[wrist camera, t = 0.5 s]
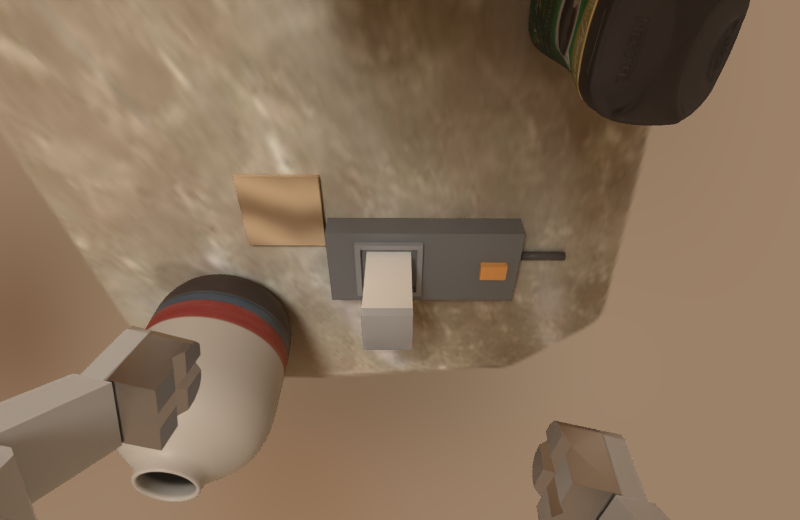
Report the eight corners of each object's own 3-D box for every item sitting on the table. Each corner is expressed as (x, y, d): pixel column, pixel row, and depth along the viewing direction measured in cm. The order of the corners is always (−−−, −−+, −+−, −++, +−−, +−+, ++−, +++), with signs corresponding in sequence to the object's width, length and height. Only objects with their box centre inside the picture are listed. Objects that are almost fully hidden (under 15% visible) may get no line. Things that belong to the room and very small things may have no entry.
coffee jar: (605, 53, 43) (708, 144, 29) (519, 50, 43) (579, 139, 29) (644, -77, 37) (799, -45, 23) (543, -82, 37) (635, -53, 23)
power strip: (327, 218, 54) (323, 237, 52) (572, 219, 55) (582, 239, 52) (334, 283, 61) (331, 304, 58) (554, 284, 61) (562, 305, 58)
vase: (313, 343, 68) (280, 517, 50) (202, 358, 70) (132, 530, 52) (270, 252, 58) (210, 429, 39) (142, 272, 60) (27, 450, 41)
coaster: (234, 174, 51) (232, 177, 50) (318, 175, 51) (317, 178, 51) (250, 242, 57) (249, 245, 56) (326, 242, 57) (325, 245, 56)
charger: (366, 251, 54) (360, 315, 46) (411, 251, 54) (413, 315, 46) (368, 284, 57) (363, 349, 49) (410, 284, 57) (412, 350, 49)
